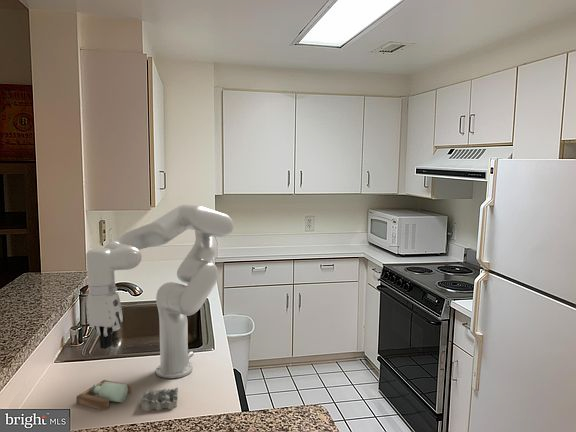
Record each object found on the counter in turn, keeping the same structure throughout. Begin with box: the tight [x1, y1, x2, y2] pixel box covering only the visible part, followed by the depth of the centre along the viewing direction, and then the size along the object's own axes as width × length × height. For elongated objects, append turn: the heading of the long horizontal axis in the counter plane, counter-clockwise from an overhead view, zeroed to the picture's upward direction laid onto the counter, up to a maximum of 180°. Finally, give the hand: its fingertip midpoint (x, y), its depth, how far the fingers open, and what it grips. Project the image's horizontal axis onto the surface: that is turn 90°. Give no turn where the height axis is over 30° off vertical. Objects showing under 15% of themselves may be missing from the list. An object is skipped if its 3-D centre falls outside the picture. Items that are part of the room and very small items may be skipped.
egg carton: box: [140, 387, 179, 412], centre depth 136 cm, size 11×8×4 cm
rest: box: [76, 379, 132, 411], centre depth 140 cm, size 12×11×2 cm
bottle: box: [91, 382, 128, 403], centre depth 139 cm, size 5×5×10 cm
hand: (106, 346), depth 139 cm, fingers closed
